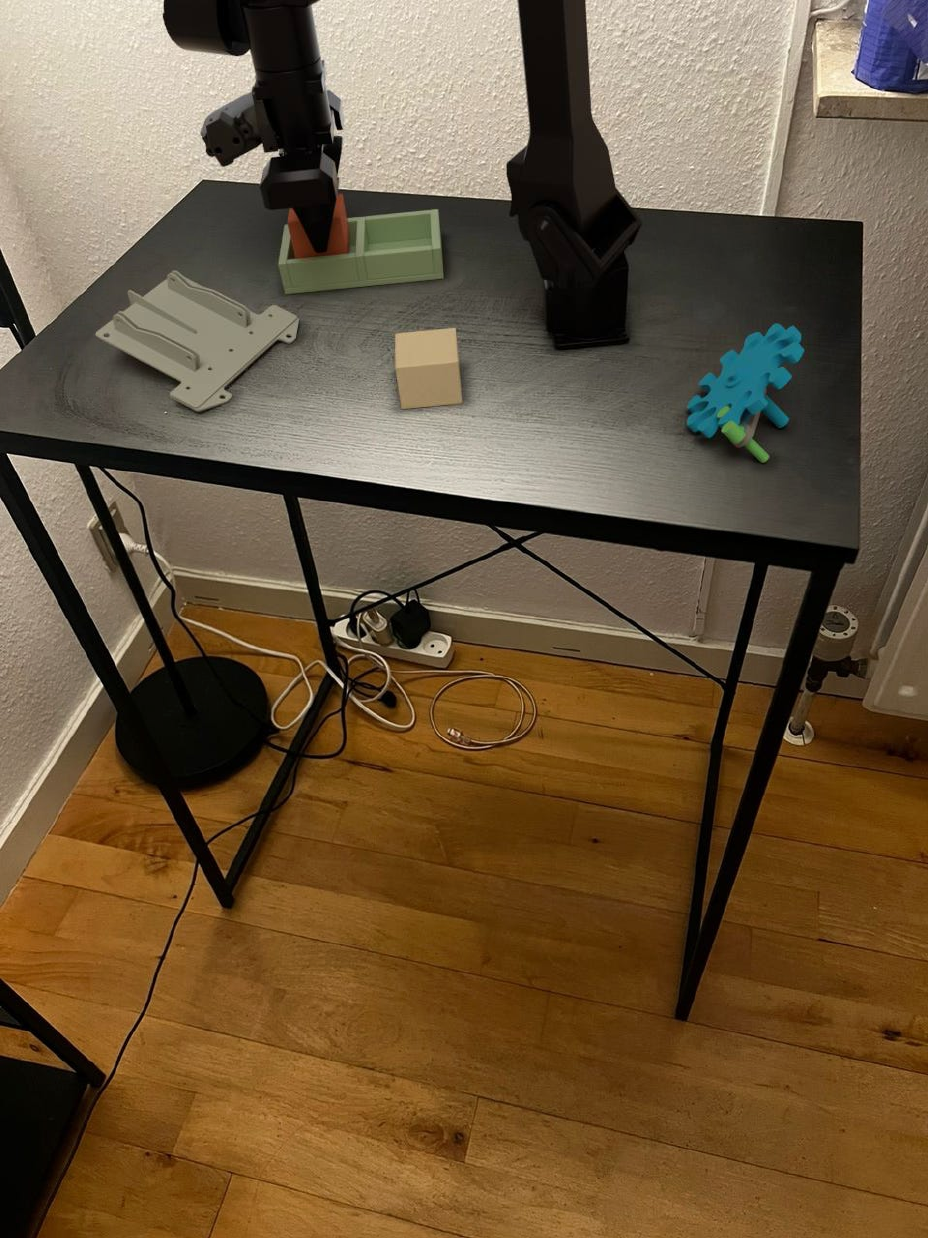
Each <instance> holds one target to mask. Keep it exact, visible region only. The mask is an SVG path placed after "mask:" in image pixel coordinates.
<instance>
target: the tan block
mask: <svg viewBox="0 0 928 1238" xmlns="http://www.w3.org/2000/svg"><path fill="white" fill-rule="evenodd" d="M394 338H395V339H394V340H395V341H394V346H395V347H394V348H395V349H394V352H395V354H394V357H395V358H394V362H395V365H394V368H395V374H396V380H397V388H398V393H399V401H400V407H401V409H402V410H409V409H419V408H430V407H439V406H450V405H451V406H452V405H461V404H463V394H462V393H463V392H462V379H461V368H460V367H461V366H460V357H459V346H458V337H457V328H456V327H448V328H440V329H439V328H438V329H429V330H419V331H409V332H398V333H395V334H394Z"/></svg>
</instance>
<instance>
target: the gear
mask: <svg viewBox="0 0 928 1238" xmlns="http://www.w3.org/2000/svg"><path fill="white" fill-rule="evenodd" d="M801 341H802V333H801V332H800V330H798V328H797V327H795V325H790V326H789V327H788V328H787V329H785V327H784V326H783V325H781V324H780V323H776V322H775V323H773V325H771V326H770V328H769V329H768V330H767V332H766V333H765V335H763V334H762V333H761V332H760V331H755V332H753V333H751V334H749V335H748V336H746V338H745V341H744V343H743V344H744V345H743V347H742V348H741V349H742V350H741V352H740V353H739V354H738V353H737V352H736V351H735V350H734V348H732V349H730V350H729V351H727V352H726V353H725V354H723V355H722V356H721V357H720V359H719V362H720V364H721V365H722V369H721V372H720V374H719V375H718V376H716V375H715V374H713V372H711V371H710V372H708V373H707V374H706V375H705V376H704V377H703V378H702V379H701V380H700V381H699V383H698V386H699V387H700V388H701V389H702V390H703V391H704V392H705V393H708V394H706V396H704V397H701V396H700V395H699V394H696V395H694V396H692V398H691V399H690V401H689V402H688V404H687V406H686V410H688V411H689V413H690V415H689V416H688V417H687V420H686V426H687V427H688V428H689V429H690V430H691V431H692V432H693V433H697V432H700V433H701V434H702V435H703V436H704V437H706V438H707V439H710V438H712V437H714V435H715V433H716V432H717V431H718V428H719V427H720V428H721V433H722V434H723V435H725V437H726V438H728V440H729V442H730V443H732V445H734V447H736V448H738V449H739V448H743V447H745V449H747V450H748V451H749V452H750V453H751V455H753V456H754V457H755V459H757V460H758V462H760V463H761V464H765V463H766V462H768V460H769V459H770V454H768V452H766V451H765V450H764V449H763V447H762V446H760V445H759V444H758V443H757V442H756V441H755V440H754V439H753V437H754V435H755V431H756V428H757V425H758V422H759V418H760V415H761V412H762V413H763V414H764V415H765V416H766V417H767V418H768V419H769V421H770V422H772V424H774V425H775V426H776V427H777V428H778V429H781V428H784V427H785V426H786V425H787V424H788V423H789V421H790V418H789V417H788V415H787V414H785V412H784V411H783V410H781V409H780V407H779V406H778V405H777V404H776V403H775V402H774V401H773V400H772V399H771V398H770V397H769V396H768V395H767V391H768V389H767V386H768V385H769V384H771V385H772V386H773V387H774V388H775V389H776V390H781V389H783V388H784V387H785V385H787V383H788V382H790V381H791V379H792V378H793V376H792V374H791V373H790V372H789V371H788V370H787V369H786V368H785V366H781V365H782V364H783V363H785V362H788V364H789V365H795V364H797V363H799V361H800V360H801V358H802V356H803V354H804V352H805V349H804V347H803V346H802V345H801V344H800V342H801Z"/></svg>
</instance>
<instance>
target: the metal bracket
mask: <svg viewBox="0 0 928 1238" xmlns="http://www.w3.org/2000/svg"><path fill="white" fill-rule="evenodd" d="M127 296H128V297H127V298H128V300H129V303H130V306H128V307H127V308H126V309H124V310H119V311H118V312H117V313H115V314H114V315H113V316H112V319H111V320H110V321H109V322H108V323H106V324H105V325H103V326H102V327H101V328H100V329H98V330H97V331H96V332H95V337H96V338H97V339H99V340H101V341H103V342H105V343H107V344H109V345H111V346H112V347H114V348H116V349H118V350H120V351H121V352H124V353H125V354H127V355H129V356H131V357H133V358H134V359H137V360H138V361H141V362H142V363H144V364H146V365H148V366H150V367H152V368H154V369H155V370H157V371H159V372H161V373H163V374H165V375H167V376H169V377H171V378H173V379H174V380H176V381H178V382H179V383H180V384H178V385H177V386H176V387H175V388H173V390H172V391H170V393H169V396H170V398H171V399H173V400H174V401H176V402H178V403H180V404H182V405H184V406H186V407H187V408H189V409H191V410H193V411H195V412H197V413H200V412H203V411H206V410H209V409H212V408H215V407H218V406H221V405H224V404H227V403H229V402H230V401H231V400H232V399H233V395H232V393H231V392H229V391H227V390H226V389H225V388H226V387H228V386H229V385H230V384H231V383H233V381H234V380H235V379H236V378H237V377H239V375H241V374H242V373H243V372H244V371H245V370H246V369H247V368H249V366H251V365H252V364H253V363H254V362H255V361H256V360H257V359H259V358H260V357H261V355H263V354H264V353H266V351H267V350H269V348H271V346H273V345H274V344H275V343H276V342H278V341H281V342H284V343H285V344H289V345H290V344H292V343H294V342H295V341H296V339H297V333H298V328H299V324H300V319H299V318H298V316H297V315H296V314H294V313H292V312H290V311H288V310H286V309H284V308H282V307H280V306H279V305H276V304H272V305H270V306H268V307H267V308H266V309H265V310H264V311H263V312H262V313H260V314H258V313H256V312H253V311H252V310H249V308H248V307H247V306H246V305H244V304H242V303H240V302H238V301H236V300H234V299H233V298H230V297H229V296H226V295H225V294H223V293H220V292H219V291H217V290H214V289H211V288H208V287H205V286H203V285H201V284H199V283H197V282H195V281H193V280H191V279H189V278H187V277H185V276H183V275H182V273H180V272H179V271H178V270H172V271H171V272H170V273H167V276H166V279H164V280H163V281H161V282H160V283H159V284H158V285H156V286H155V287H154V288H152V289H151V290H150V291H148V292H147V293H145V295H143V296H142V295H140V294H139V293H136V292H135V291H133V290H131V289H129V290H128V291H127ZM288 336H289V337H288ZM221 397H224V398H221Z"/></svg>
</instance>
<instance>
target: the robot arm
mask: <svg viewBox="0 0 928 1238" xmlns="http://www.w3.org/2000/svg"><path fill="white" fill-rule="evenodd" d="M320 1H321V0H163V5H162V6H163V13H162V20H163V24H164V27H165V29H166V32H167V34H168V36H169V37H170V39H171V41H172V42H173V43H174V44H175V45H176V46H177V47H178V48H180V49H182V50H185V51H189V52H196V53H205V54H206V53H207V54H213V55H214V54H215V55H221V56H222V55H223V56H230V57H242V56H244V55H246V54H248V52H249V51H250V56H251V60H252V65H253V70H254V73H255V81H254V85H252V87H251V91H250V92H248V93H245V94H243V95H241V96H238V97H237V98H235V99H234V100H232V101H230V102H228V103H226V104H224V105H222V106H221V107H219V108H217V109H216V110H214V111H212V112H211V113H209V114H208V115H207V116H206V117H205V119H204V121H203V123H202V127H201V129H200V136H201V139H202V141H203V143H204V145H205V154H206V155H207V156H208V157H210V158H214V157H215V159H216V161H217V162H218V164H219V165H220V167H222V168H224V167H228V166H230V165H232V164H233V163H234V161H235V160H236V159H238V158H240V157H241V156H244V155H245V154H247V153H249V152H252V151H253V150H255V149H256V148H258V147H260V146H262V149H263V152H264V154H267V153H276V152H277V153H278V156H271V157H270V158H269V160H267V161H268V162H267V163H266V164H265V166H264V167H263V169H262V172H261V178H260V181H259V182H260V183H259V189H260V195H261V198H262V202H263V206H264V209H267V210H269V211H276V210H285V209H286V210H287V209H290V208H292V209H293V210H294V212H295V214H296V216H297V217H298V219H299V221H300V223H301V225H302V227H303V229H304V231H305V233H306V235H307V237H308V239H309V241H310V243H311V245H312V247H313V249H314V251H315V252H316V253H323V252H326V251H327V247H328V242H329V236H330V231H331V226H332V221H333V215H334V210H335V205H336V200H337V195H338V194H339V188H340V177H339V169H340V164H341V158H342V152H343V146H344V145H343V142H344V137H343V136H342V135H334V134H335V129H336V131H344V123H345V117H344V110H343V104H342V99H341V98H340V97H339V96H338V95H336V94H335V93H334V92H333V91H332V90H331V89H327V85H326V79H327V69H326V62H325V60H324V59H322V57H321V56H322V55H321V51H320V46H319V39H318V34H317V28H316V23H315V17H314V12H313V6H312V5H315V4H316V3H319V2H320ZM516 2H517V3H516V4H517V12H518V22H519V31H520V43H521V52H522V53H521V54H522V64H523V76H524V83H525V84H524V86H525V95H526V105H527V114H528V123H529V124H528V127H529V133H528V139H527V143H526V145H525V146H524V147H523V148H522V149H521V150H519V151H518V152H517V153H516V154H515V155H514V156H513V157H512V158H511V159H509V160H508V161H506V165H505V166H506V167H505V171H506V172H505V173H506V179H507V182H508V183H507V184H508V186H509V191H510V196H511V198H510V201H511V205H510V208H509V213H508V215H509V217H511V218H513V217H515V216H516V222H517V226H518V229H519V232H520V234H521V236H522V238H523V240H525V241H527V242H528V245H529V246H530V249H531V253H532V256H533V258H534V261H535V263H536V266H537V269H538V272H539V274H540V278H541V279H542V308H543V312H542V313H543V315H542V316H543V320H544V321H543V322H544V325H545V330H546V332H548V334H549V333H550V334H551V338H552V344H553V347H554V349H556V350H562V349H563V350H564V349H574V348H575V349H576V348H586V347H595V346H606V345H614V344H615V345H616V344H625V343H629V342H630V337H631V334H630V331H629V328H628V325H627V310H628V309H627V308H628V291H629V290H628V289H629V276H630V275H629V274H630V273H629V272H630V264H629V261H628V259H627V255H626V252H625V251H626V250H627V249H628V248H629V246H632V245H633V243H634V242H635V241H636V240H637V239H636V238H637V236H638V234H639V232H640V229H641V227H642V225H643V221H642V219H641V217H640V216H639V215H638V214H637V213H636V211H635V210H634V209H633V207H632V206H631V205H630V203H629V202H628V201H627V199H626V198H625V197H624V196H623V194H622V193H621V192H620V191H619V189H618V188H617V187H616V182H615V176H614V171H613V166H612V161H611V156H610V150H609V147H608V145H607V144H606V141H605V140H604V138H603V135H602V134H601V132H600V130H599V128H598V126H597V124H596V123H595V121H594V118H593V113H592V99H591V98H592V97H591V79H590V61H589V60H590V59H589V41H588V39H589V37H588V23H587V22H588V21H587V3H586V0H516Z"/></svg>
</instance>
